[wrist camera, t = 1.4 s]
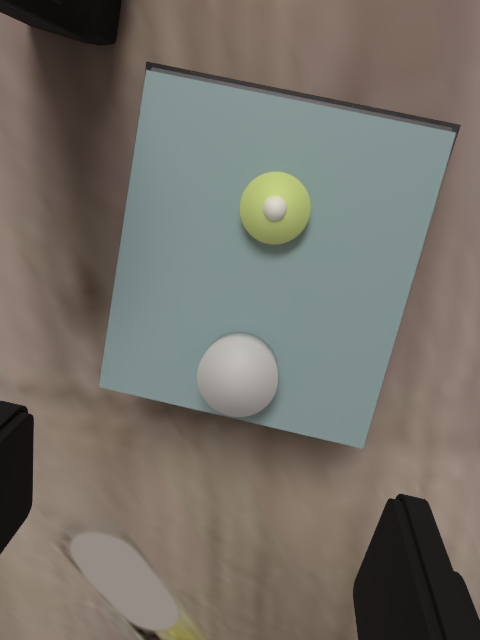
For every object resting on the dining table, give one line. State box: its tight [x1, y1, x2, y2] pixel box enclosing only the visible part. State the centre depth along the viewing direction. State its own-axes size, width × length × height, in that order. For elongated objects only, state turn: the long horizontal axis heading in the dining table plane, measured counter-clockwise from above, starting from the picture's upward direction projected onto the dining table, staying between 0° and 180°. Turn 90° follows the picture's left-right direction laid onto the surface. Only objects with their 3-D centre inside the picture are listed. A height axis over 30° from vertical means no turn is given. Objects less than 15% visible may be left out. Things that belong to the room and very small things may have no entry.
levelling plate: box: [99, 67, 456, 449], centre depth 27 cm, size 20×18×4 cm
